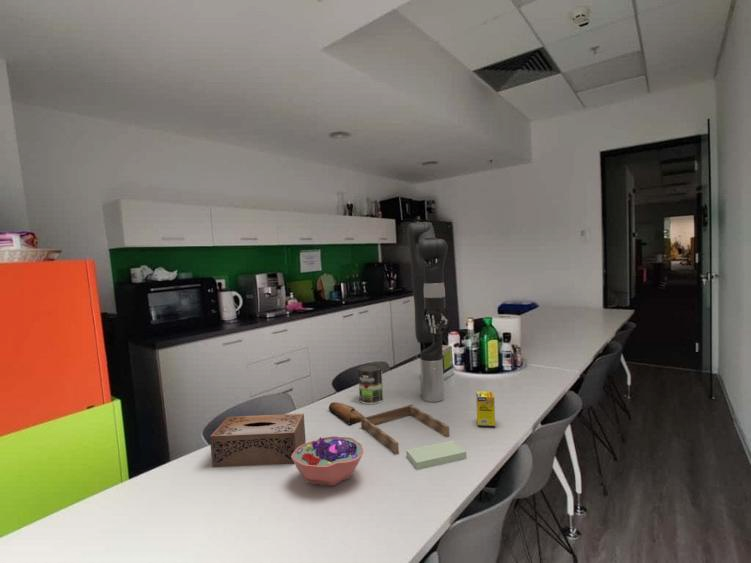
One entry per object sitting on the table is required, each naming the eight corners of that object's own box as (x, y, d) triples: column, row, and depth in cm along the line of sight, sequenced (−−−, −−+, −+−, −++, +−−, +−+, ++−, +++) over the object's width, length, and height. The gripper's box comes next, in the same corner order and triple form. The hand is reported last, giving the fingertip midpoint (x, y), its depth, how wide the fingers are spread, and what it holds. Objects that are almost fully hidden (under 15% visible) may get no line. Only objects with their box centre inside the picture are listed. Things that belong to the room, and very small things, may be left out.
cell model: (301, 464, 120) (298, 428, 119) (366, 462, 119) (364, 425, 118) (286, 498, 103) (283, 456, 102) (363, 496, 102) (361, 454, 101)
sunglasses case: (369, 419, 149) (360, 406, 147) (356, 433, 146) (347, 420, 144) (346, 405, 165) (338, 393, 162) (334, 417, 162) (325, 406, 159)
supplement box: (495, 428, 137) (494, 397, 136) (477, 427, 138) (476, 396, 137) (494, 420, 143) (493, 391, 142) (476, 420, 144) (475, 390, 143)
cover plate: (406, 457, 121) (406, 450, 121) (453, 447, 126) (453, 440, 126) (417, 471, 113) (416, 462, 113) (466, 459, 118) (466, 451, 118)
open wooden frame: (361, 427, 142) (360, 418, 142) (412, 413, 153) (411, 404, 153) (394, 454, 122) (394, 443, 122) (450, 435, 133) (450, 425, 133)
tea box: (436, 371, 204) (434, 343, 203) (454, 374, 198) (453, 345, 197) (421, 380, 192) (420, 350, 191) (440, 383, 186) (439, 352, 185)
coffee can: (378, 405, 163) (376, 372, 162) (355, 403, 167) (353, 370, 166) (387, 396, 172) (385, 365, 171) (365, 394, 176) (363, 363, 175)
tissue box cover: (212, 468, 121) (209, 436, 120) (230, 445, 135) (228, 416, 134) (296, 464, 120) (294, 432, 119) (305, 442, 135) (303, 413, 134)
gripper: (415, 295, 145) (417, 341, 146) (437, 297, 134) (439, 348, 135) (431, 293, 149) (433, 338, 150) (454, 295, 137) (456, 345, 138)
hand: (436, 343), depth 142 cm, fingers closed
